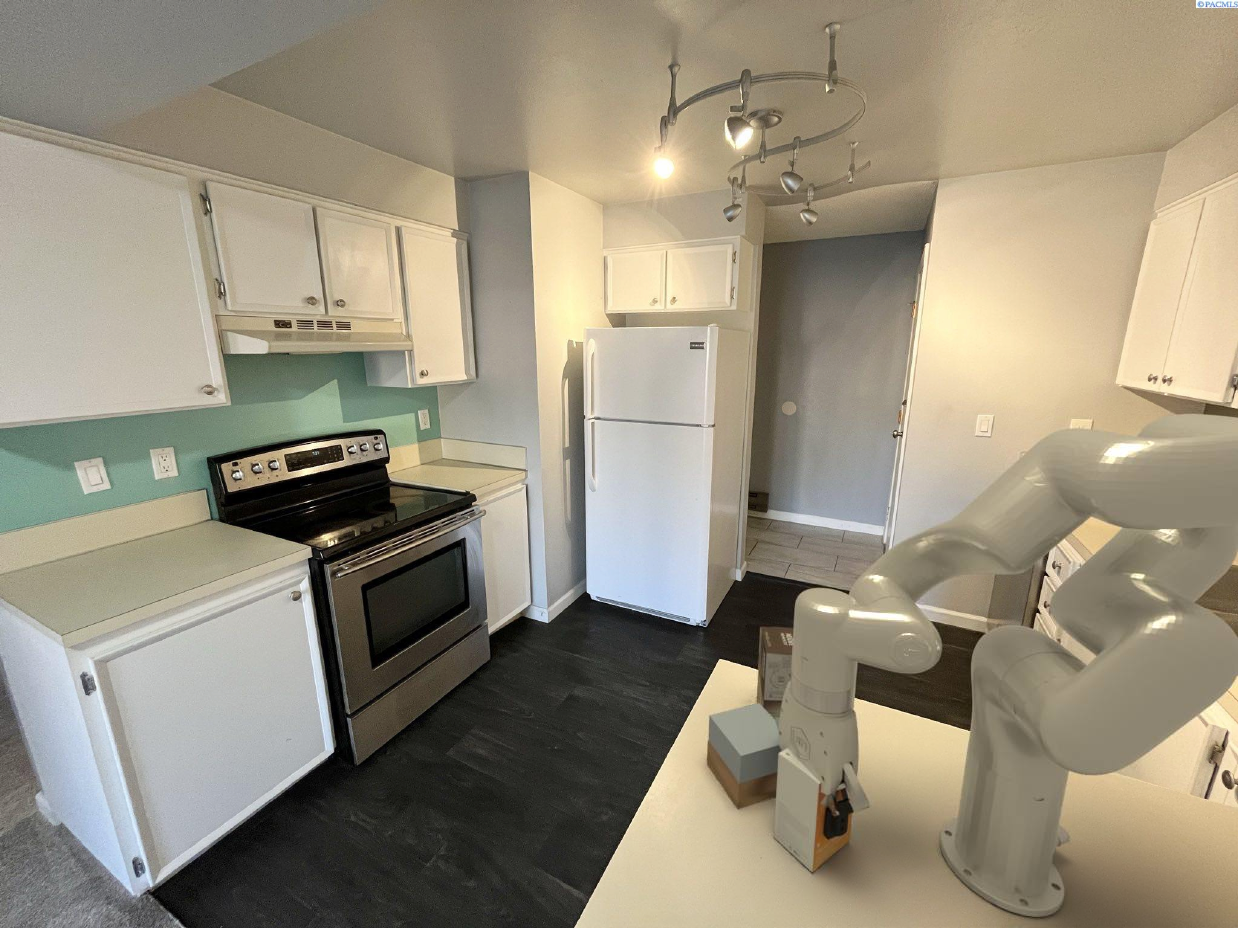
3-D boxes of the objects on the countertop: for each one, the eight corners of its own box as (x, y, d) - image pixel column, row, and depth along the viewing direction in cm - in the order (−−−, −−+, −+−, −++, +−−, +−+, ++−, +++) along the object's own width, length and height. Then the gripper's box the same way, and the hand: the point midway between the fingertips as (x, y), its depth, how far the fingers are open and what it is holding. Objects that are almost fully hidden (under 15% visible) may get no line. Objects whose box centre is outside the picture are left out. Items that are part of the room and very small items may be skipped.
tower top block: (757, 727, 84) (758, 702, 84) (792, 767, 76) (794, 740, 75) (708, 740, 82) (709, 715, 81) (739, 783, 73) (740, 755, 72)
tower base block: (755, 751, 85) (756, 727, 84) (790, 793, 77) (792, 767, 76) (706, 765, 82) (707, 740, 81) (737, 810, 74) (738, 783, 73)
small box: (812, 874, 64) (819, 784, 62) (772, 836, 70) (776, 751, 67) (851, 841, 69) (858, 756, 66) (810, 808, 74) (816, 727, 71)
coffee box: (800, 742, 87) (806, 655, 84) (760, 738, 88) (765, 652, 85) (790, 707, 96) (795, 627, 93) (754, 704, 97) (758, 624, 94)
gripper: (756, 657, 72) (751, 768, 75) (849, 742, 56) (838, 879, 59) (801, 647, 74) (794, 755, 77) (903, 725, 58) (889, 858, 61)
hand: (813, 808), depth 68 cm, fingers closed on small box, 7 cm apart
